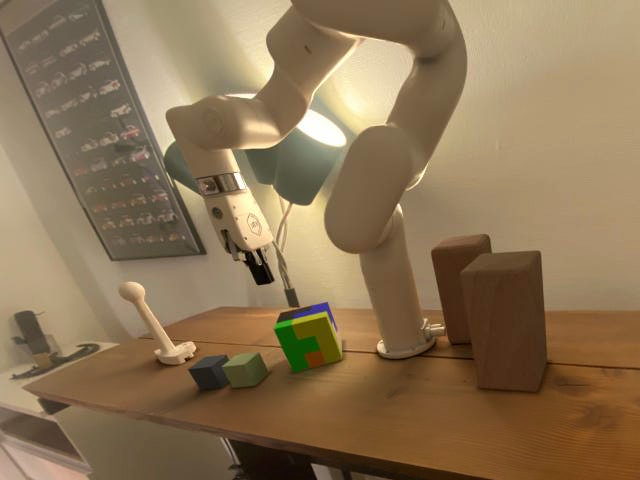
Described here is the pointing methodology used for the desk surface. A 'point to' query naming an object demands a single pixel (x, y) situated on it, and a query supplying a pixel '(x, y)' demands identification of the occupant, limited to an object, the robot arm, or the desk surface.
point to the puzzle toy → (309, 336)
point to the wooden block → (506, 319)
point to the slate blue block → (210, 372)
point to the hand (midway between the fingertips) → (266, 283)
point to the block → (456, 279)
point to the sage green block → (245, 370)
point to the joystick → (156, 327)
